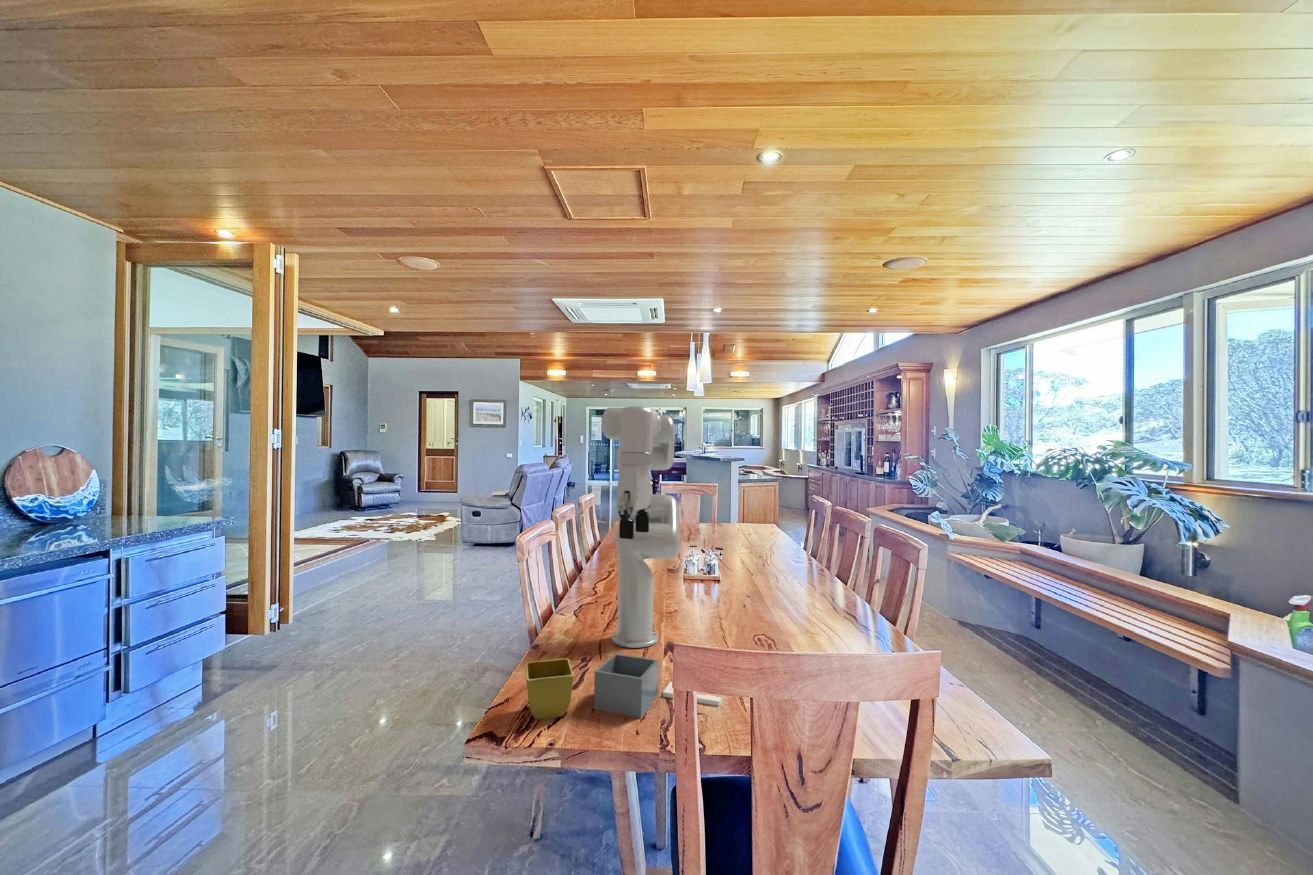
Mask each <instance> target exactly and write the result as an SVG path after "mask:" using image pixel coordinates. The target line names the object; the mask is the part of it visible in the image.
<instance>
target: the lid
mask: <svg viewBox="0 0 1313 875" xmlns="http://www.w3.org/2000/svg"><path fill="white" fill-rule="evenodd" d="M696 696H697V702H696V703H698V704H704V705H709V706H716V707H720V706H721V704H722V702H723V700H724V698H725V696H724V697H716V696H710V695H701V694H697V695H696ZM662 697H663V698H668V699H669V698H670V699H674V698H673V688H672V682H671V681H669V683H668V685H667V686H665V689H664V690H663V691H662Z"/></svg>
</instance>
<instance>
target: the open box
mask: <svg viewBox="0 0 1313 875" xmlns="http://www.w3.org/2000/svg"><path fill="white" fill-rule="evenodd" d="M659 664H660V662H659V659H655V658H654V659H653V658H649V657H648V658H647V657H641V656H640V657H639V656H635V655H634V656H632V655H630V654H629V655H628V654H627V655H626V654H620V653H613V654H612V655H611V656H610V657H609V658H608V659H607V660H605V662H604V663H602V664H601V665H599V667H598V668H597V669H596V670H594V678H593V679H594V684H593V685H594V686H593V687H594V688H593V693H594V694H593V695H594V696H593V710H595V711H596V710H597V711H602V712H606V713H613V714H618V715H623V716H628V717H633V718H639V719H642V718H643V716H644V715H645V714H646V713H647V711H648V710H649V708H651V706H652V705H653V704H654V702H655V701H656V700H657V698H658V697H659Z"/></svg>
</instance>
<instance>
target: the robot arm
mask: <svg viewBox="0 0 1313 875" xmlns="http://www.w3.org/2000/svg"><path fill="white" fill-rule="evenodd" d="M601 428H602V430H601V431H602V433H603V435H604V437H605V438H606V439H609V440H617V441H619V447H618V448H617V451H616V467H617V472H618V478H617V487H616V488H617V489H616V509H617V510H618V512H617V513H618V521H619V527H618V528H617V530H616V532H615V547H616V553H617V554H616V555H617V567H618V568H617V569H618V570H617V572H618V575H617V578H618V580H617V623H616V624H617V627H616V628H617V630H615V631H614V632H613V633H612V634H611V642H612V643H613V644H615V645H617V646H620V647H623V648H631V649H632V648H633V649H636V648H637V649H639V648H641V649H642V648H646V647H651V646H653V645H656V643H657V642H658V640H659V634H658V633H656V632H655V631H654V630H653V623H654V622H655V619H654V616H653V614H654V610H653V608H654V606H653V605H654V574H653V571H652V569H651V568H650V567H649V565H648V563H646V561H645V560H650V559H651V560H654V559H656V560H660V559H661V560H669V559H674V558H676V557H677V556H678V555H679V553H680V549H681V530H680V512H679V511H680V510H679V505H678V501H677V499H676V498H675V497H674V496H672V495H671V494H670V495H669V494H662V493H661V494H659V493H658V494H655V493H654V494H653V485H652V483H651V471H667V470H669V469H671V468H672V467H673V465H674V461H675V443H676V429H675V423H674V421H673V418H672V417H670V416H669V415H667V414H666V415H665V414H659V413H658V412H657V411H656V410H655V409H654V408H651V407H648V406H640V405H639V406H637V405H635V406H634V405H632V406H625V407H608V408H606V409H605V410H604V412H603V414H602V416H601Z"/></svg>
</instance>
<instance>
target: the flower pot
mask: <svg viewBox="0 0 1313 875" xmlns="http://www.w3.org/2000/svg"><path fill="white" fill-rule="evenodd" d="M524 665H525V666H524V667H525V668H524V669H525V677H526V678H525V679H526V680H525V681H526V688H527V698H528V701H527V702H528V706H529V709H530V712H531V715H532V716H533V718H534V719H535V720H543V719H551V718H559V717H564V715H565V714H566V712H567V711H568V709H569V706H570V703H571V698H572V692H573V691H572V690H573V684H574V683H573V682H574V671H573V668H572V665H571V661H570V659H569V658H568V657H566V658H565V657H564V658H557V659H549V660H538V661H537V660H536V661H528V662H525V663H524Z"/></svg>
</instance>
